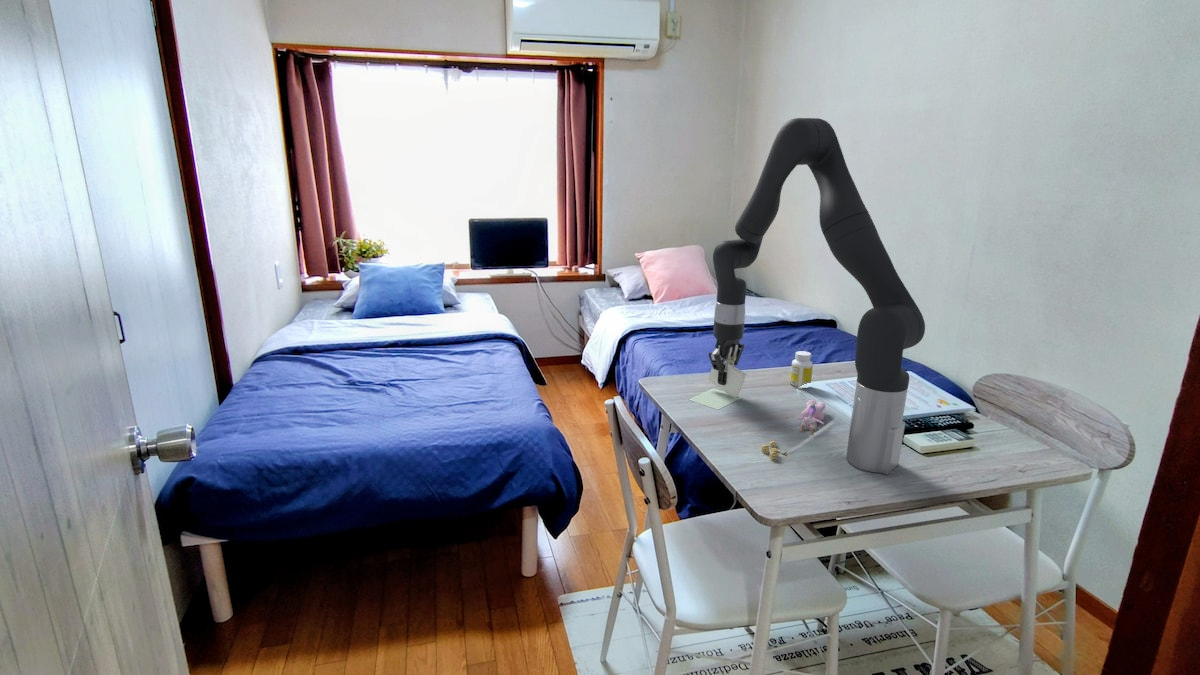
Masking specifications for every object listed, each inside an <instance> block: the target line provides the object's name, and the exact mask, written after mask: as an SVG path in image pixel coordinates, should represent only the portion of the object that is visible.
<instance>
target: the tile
mask: <svg viewBox="0 0 1200 675" xmlns="http://www.w3.org/2000/svg"><path fill="white" fill-rule="evenodd" d="M722 364H723V367H724V363H722ZM711 366H712V365H711ZM747 375H748V374H747V373H746V372H744V371H742V369H740V368H738V367H736V366H735V365H734V366H733V365H731V364H729V363H728V369H727V380H726V385H721V384H718V370H715V369H713V366H712V367H711V370H710V372H709V375H708V378H707V381H708V382H709V383H711V384H713V386H715V387H716V388H718V389H719V390H720V391H723V392H726V393H728V394H729V395H731V396H732V397H734V398H737V397H738V396H739V397H740V394H741V391H742V388H743V385H744V383H745V381H746V377H747Z"/></svg>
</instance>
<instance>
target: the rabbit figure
mask: <svg viewBox="0 0 1200 675" xmlns="http://www.w3.org/2000/svg"><path fill="white" fill-rule="evenodd" d="M825 407H826V403H825V402H824V401H818V402H816V400H815V399H809V400H808V401H807V402H806V408H805V409H804V410H802V411H801V417H796V420H797V421H799V420H800V421H801V424H800V429H799V432H802V433H803V430H805V431H806V430H808V431H809V432H810V434H811V436H812V437H813V436H814V435H815V433H814V432H816V431H817V430H818V424H817V423H819V424H821V426H822V425H823V426H824V425H825V422H823V420H824V419H825V414H824V413H823V411H824V410H825Z"/></svg>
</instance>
